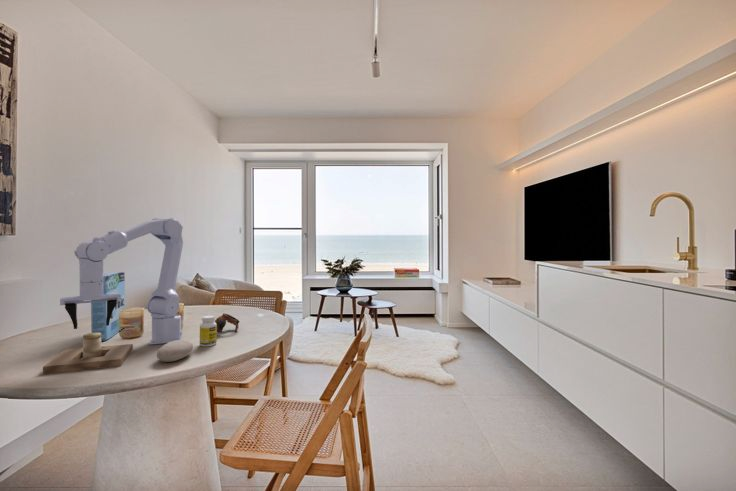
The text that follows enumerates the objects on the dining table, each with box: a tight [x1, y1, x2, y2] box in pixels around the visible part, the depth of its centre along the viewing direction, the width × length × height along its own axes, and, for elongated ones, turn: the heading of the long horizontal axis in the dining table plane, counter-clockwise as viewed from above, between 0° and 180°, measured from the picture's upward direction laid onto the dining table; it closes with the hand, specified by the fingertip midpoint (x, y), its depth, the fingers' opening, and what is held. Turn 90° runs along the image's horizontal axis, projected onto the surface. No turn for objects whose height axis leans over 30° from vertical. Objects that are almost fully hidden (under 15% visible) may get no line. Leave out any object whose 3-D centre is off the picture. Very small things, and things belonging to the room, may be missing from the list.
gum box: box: [90, 271, 126, 342], centre depth 140 cm, size 20×5×23 cm, turn 16°
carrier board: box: [42, 343, 134, 375], centre depth 111 cm, size 18×16×2 cm
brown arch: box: [214, 313, 240, 334], centre depth 145 cm, size 12×10×8 cm
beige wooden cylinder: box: [82, 332, 102, 359], centre depth 111 cm, size 4×4×8 cm
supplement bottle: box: [199, 315, 218, 347], centre depth 128 cm, size 5×5×10 cm
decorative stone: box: [156, 339, 194, 363], centre depth 114 cm, size 13×9×5 cm
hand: (92, 326), depth 110 cm, fingers open, 7 cm apart
